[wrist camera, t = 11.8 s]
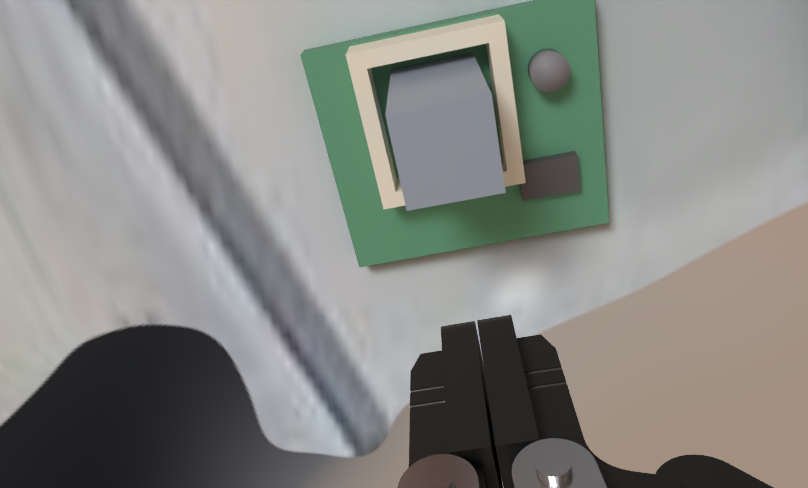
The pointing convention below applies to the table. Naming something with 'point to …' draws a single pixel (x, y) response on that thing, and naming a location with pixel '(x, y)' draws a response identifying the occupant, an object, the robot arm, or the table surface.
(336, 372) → the table surface
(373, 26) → the table surface
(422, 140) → the plug
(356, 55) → the board
